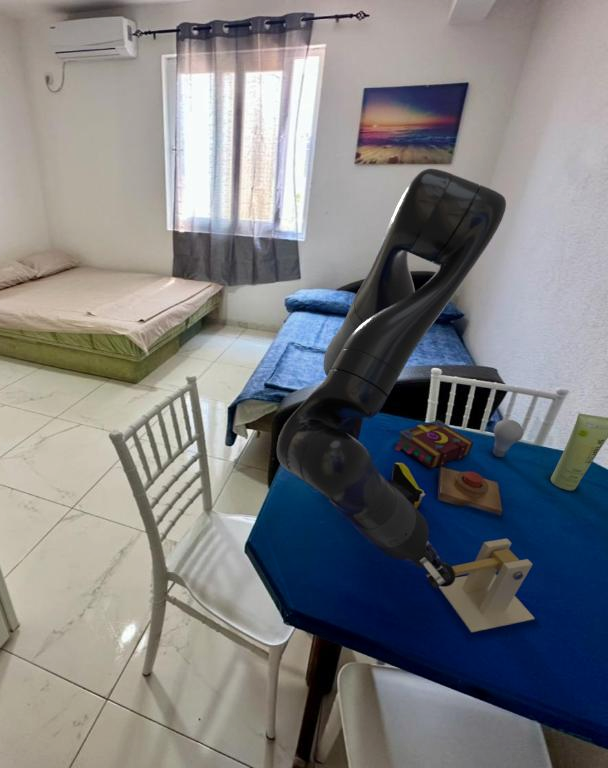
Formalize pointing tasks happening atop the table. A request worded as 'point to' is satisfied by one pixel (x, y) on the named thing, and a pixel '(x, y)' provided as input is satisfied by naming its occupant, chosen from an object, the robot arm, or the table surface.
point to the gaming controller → (406, 484)
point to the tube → (580, 450)
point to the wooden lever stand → (490, 592)
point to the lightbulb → (506, 436)
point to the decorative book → (434, 444)
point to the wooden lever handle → (480, 565)
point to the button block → (468, 492)
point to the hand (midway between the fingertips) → (439, 568)
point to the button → (473, 479)
